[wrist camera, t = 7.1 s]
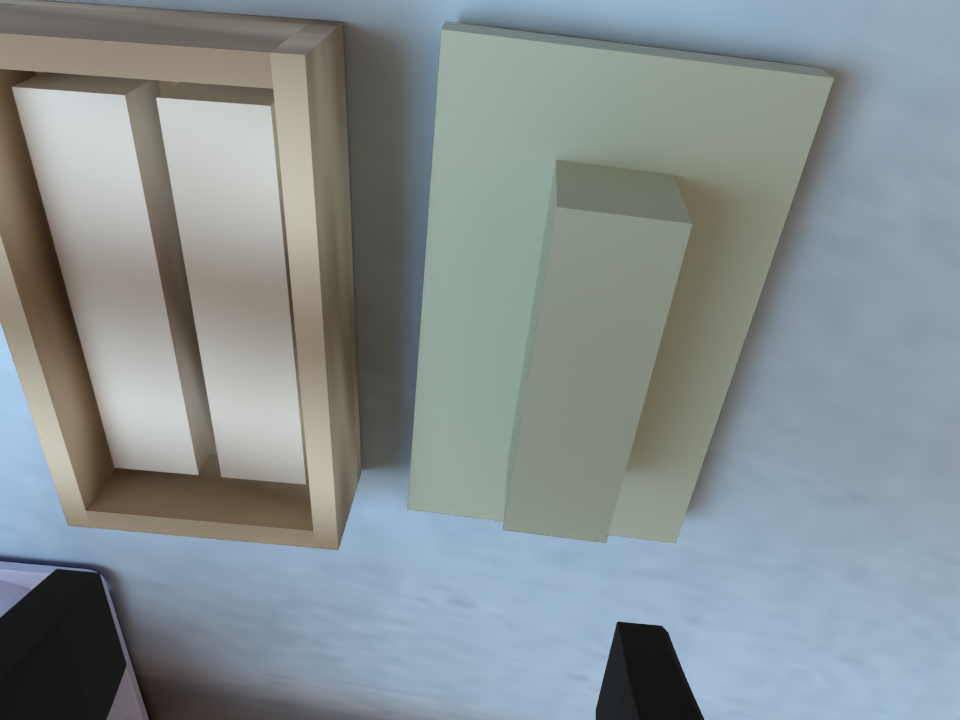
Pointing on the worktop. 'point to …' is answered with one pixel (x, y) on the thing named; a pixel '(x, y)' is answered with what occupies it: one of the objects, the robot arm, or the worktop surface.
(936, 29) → the worktop surface
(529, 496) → the lid
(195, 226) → the box
